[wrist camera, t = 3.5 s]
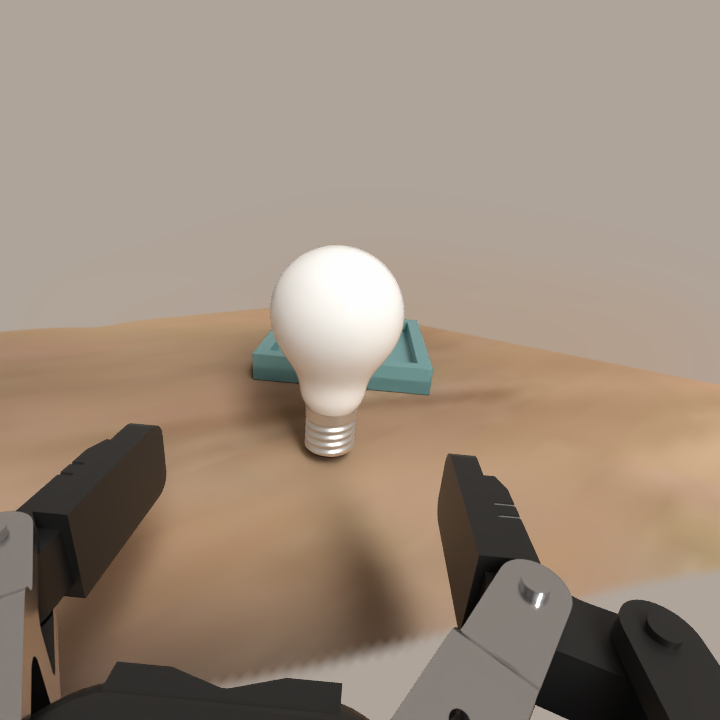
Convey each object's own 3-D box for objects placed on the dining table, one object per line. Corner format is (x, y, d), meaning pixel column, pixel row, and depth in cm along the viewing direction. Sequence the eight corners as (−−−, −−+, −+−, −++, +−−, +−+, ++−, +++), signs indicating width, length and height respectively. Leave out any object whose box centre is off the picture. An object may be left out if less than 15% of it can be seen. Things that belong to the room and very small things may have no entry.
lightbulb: (244, 450, 22) (240, 237, 18) (327, 412, 27) (338, 236, 23) (330, 509, 19) (348, 260, 15) (409, 453, 23) (438, 253, 19)
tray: (252, 379, 31) (252, 353, 30) (287, 327, 43) (288, 308, 42) (429, 394, 31) (433, 369, 30) (414, 339, 43) (416, 320, 42)
